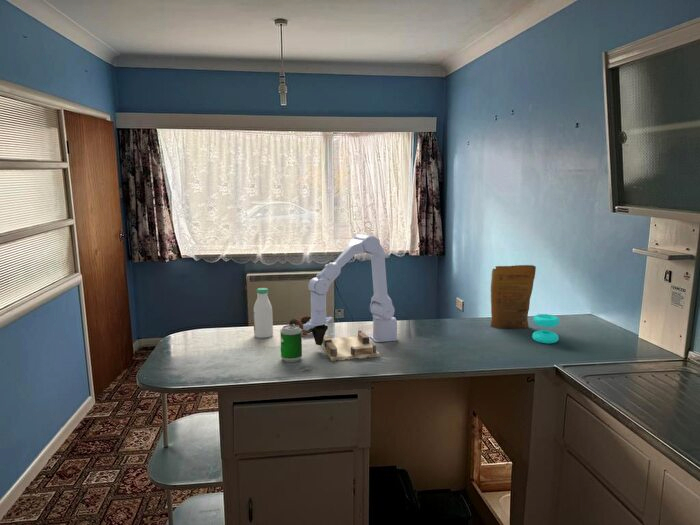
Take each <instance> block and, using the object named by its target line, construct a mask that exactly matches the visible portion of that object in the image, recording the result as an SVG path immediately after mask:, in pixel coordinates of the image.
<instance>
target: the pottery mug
mask: <svg viewBox="0 0 700 525" xmlns="http://www.w3.org/2000/svg"><path fill="white" fill-rule="evenodd" d="M310 319H311V315H304V316H301V317H300V318H299V319H296V318H291V319H290V320H289V321H288V325H297V326H299V328H301V330H302V337H306V336H307V335H309V334H312V332H311V330H310V329H309V330H303V325H304V324H306V323H308V322H309V321H310Z"/></svg>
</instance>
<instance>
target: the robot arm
mask: <svg viewBox="0 0 700 525" xmlns="http://www.w3.org/2000/svg"><path fill="white" fill-rule="evenodd" d="M359 254H366V255H368V256H369V257H370V261H371V263H370V264H371V276H372V288H373V295H372V296H371V297H370V305H369V311H370V313H371V314H372V334H371V335H369V338H370V339H371V340H373V341H374V343H380V342H381V343H383V342H394V341H395V342H396V341H398V322H397V318H396V317H395V316H394V315H395V311H396V310H395V306H394V304H393V300H392V299H391V297H390V296H389V293H388V284H387V282H388V281H387V270H386V268H387V267H386V257H385V255H386V254H385V249H384V248H383V246H382V244H381V241H380V239H379V238H378V237H376V236H374V235H368V234H363V233H358V234H356V235H354V237H353V238H352V239H350V241H349V243H348V245H347V246H346V248H345V249H344V250H343V251H342V252H340V254H339V256H338V257H337V258H336V259H335V260H334V262H329V263H326V264H324V268H323V269H322V270H321V271H320V272H319V273H317V274H316V275H315V276H316V277H313V278H311V279H310V280H309V282H308V284H307V288H308V291H310V317H311V319H310V320H309V321H307V323H306V324H304V325H303V330H309V329H310V330H311V332H312V333H311V334H312V336H313V339H314V342H315V345H316V346H321V345H322V342H323V338H324V335H326V333H327V331H328V329H329V327H328V325H327V324H330V323H331V324H332V323H334V317H332V316H327V292H329V291H330V286H331V284H332V283H333V282H334V281H335V280H336V279H337V278H338V276H339V275H340V274H341V271H342V270H341V269H342V267H344V266H345V265H346V264H347V263H349V261H350V260H351V259H352V258H354V256H355V255H359ZM303 330H302V331H303Z"/></svg>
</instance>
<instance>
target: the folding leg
mask: <svg viewBox="0 0 700 525" xmlns="http://www.w3.org/2000/svg"><path fill="white" fill-rule="evenodd" d="M330 338H331V337H329V335H328V334H325V335H324V338H323V342H322V343H323V344H324V346H325V347H326V342H332V340H331V339H330Z"/></svg>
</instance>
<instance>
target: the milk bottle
mask: <svg viewBox="0 0 700 525" xmlns="http://www.w3.org/2000/svg"><path fill="white" fill-rule="evenodd" d="M256 294H257V298H256V300H255V302H254V305H253V336H254V338H258V339H267V338H271V337H273V335H274V326H273V324H274V322H273V318H274V317H273V306H272V303H271V301H270V299H269V296H268V294H269V289H268V287H259V288H257V289H256Z"/></svg>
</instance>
